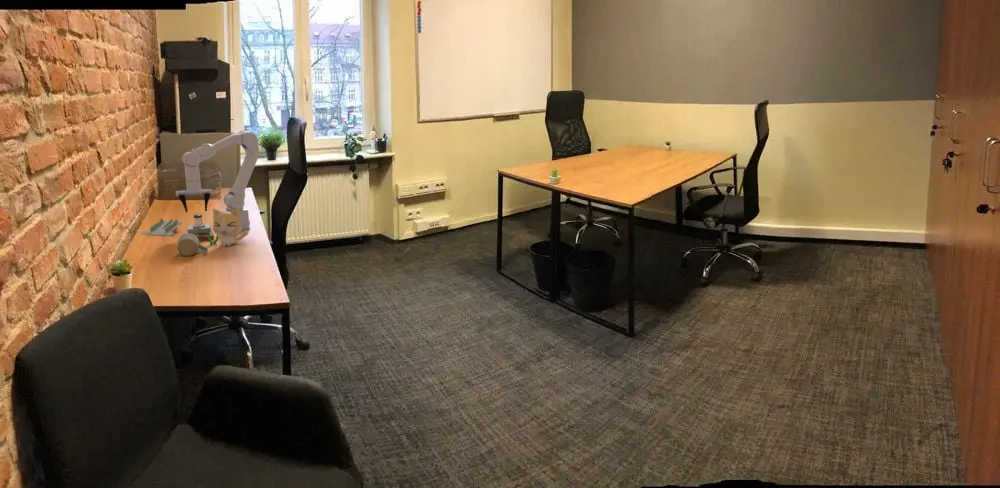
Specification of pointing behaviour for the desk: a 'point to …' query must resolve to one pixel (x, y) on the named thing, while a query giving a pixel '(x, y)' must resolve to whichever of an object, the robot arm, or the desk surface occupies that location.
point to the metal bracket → (163, 228)
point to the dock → (199, 229)
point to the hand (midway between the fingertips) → (196, 211)
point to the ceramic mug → (190, 245)
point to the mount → (204, 236)
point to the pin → (198, 221)
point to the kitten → (227, 227)
